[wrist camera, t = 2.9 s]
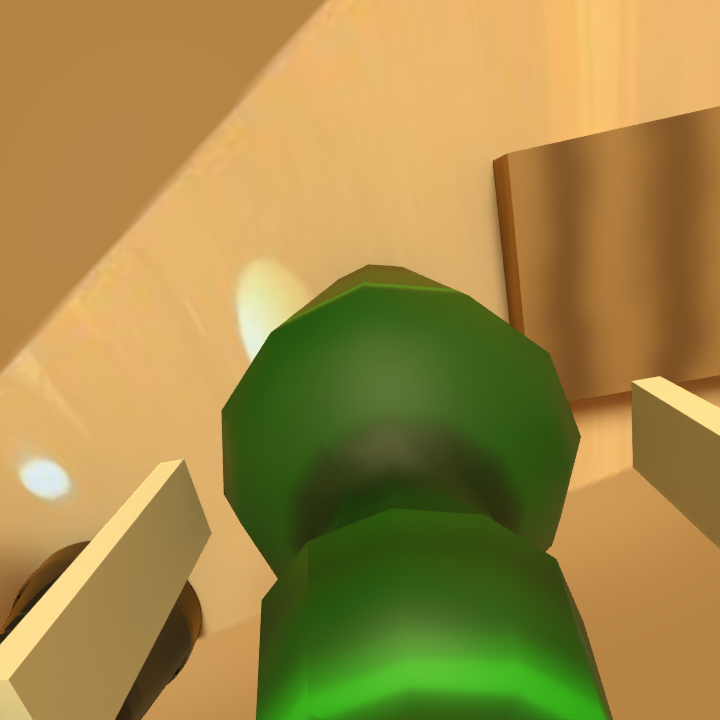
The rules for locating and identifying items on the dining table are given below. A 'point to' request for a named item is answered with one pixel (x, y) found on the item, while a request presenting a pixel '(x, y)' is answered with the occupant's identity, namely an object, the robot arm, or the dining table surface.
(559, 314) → the walnut riser
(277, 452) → the bottle
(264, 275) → the dining table surface
